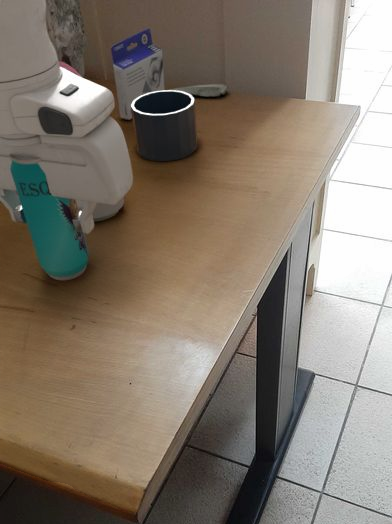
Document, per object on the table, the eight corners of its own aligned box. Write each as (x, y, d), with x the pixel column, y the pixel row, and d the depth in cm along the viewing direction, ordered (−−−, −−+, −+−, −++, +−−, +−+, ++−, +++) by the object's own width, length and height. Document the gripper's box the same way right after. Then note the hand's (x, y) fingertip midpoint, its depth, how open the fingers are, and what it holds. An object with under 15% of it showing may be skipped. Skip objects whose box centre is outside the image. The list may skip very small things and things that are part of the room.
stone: (164, 90, 104) (172, 78, 107) (166, 99, 105) (173, 87, 108) (223, 90, 101) (230, 78, 104) (224, 99, 102) (230, 86, 105)
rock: (18, 156, 105) (-55, 3, 78) (-26, 104, 111) (-108, -57, 83) (132, 89, 111) (101, -78, 83) (85, 42, 116) (41, -129, 89)
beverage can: (87, 283, 66) (56, 160, 56) (38, 285, 66) (-2, 163, 56) (94, 254, 70) (67, 134, 60) (48, 256, 70) (13, 137, 60)
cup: (126, 148, 91) (118, 103, 86) (172, 129, 94) (168, 85, 90) (161, 167, 85) (156, 120, 80) (209, 146, 89) (207, 100, 84)
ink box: (130, 121, 98) (119, 48, 90) (119, 119, 99) (107, 47, 91) (167, 97, 105) (160, 27, 97) (157, 95, 106) (149, 26, 98)
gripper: (-91, 102, 55) (-40, 227, 65) (96, 120, 49) (121, 254, 59) (-49, 79, 59) (-8, 199, 69) (128, 93, 53) (147, 222, 63)
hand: (53, 225), depth 64 cm, fingers open, 7 cm apart
